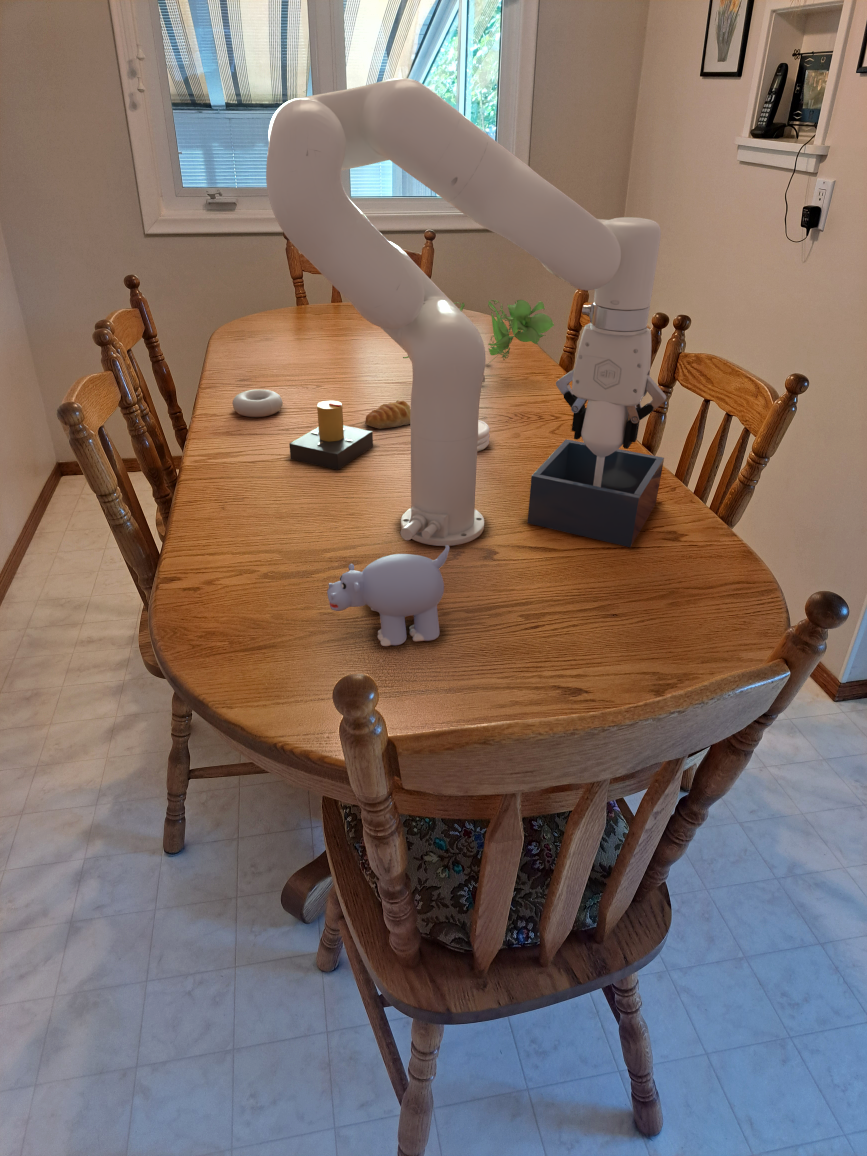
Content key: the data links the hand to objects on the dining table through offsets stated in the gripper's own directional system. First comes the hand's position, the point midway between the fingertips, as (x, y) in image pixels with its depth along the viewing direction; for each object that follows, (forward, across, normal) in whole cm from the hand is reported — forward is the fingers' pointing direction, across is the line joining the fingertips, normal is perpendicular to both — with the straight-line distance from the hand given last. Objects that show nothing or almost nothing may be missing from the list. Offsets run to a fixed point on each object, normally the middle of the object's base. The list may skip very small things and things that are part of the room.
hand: (603, 440), depth 115 cm
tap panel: (+12, -49, +1) cm, 51 cm away
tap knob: (+9, -49, +1) cm, 50 cm away
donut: (+12, -74, +12) cm, 76 cm away
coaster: (+12, -30, +16) cm, 36 cm away
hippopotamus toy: (+12, -14, -40) cm, 44 cm away
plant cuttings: (+12, -45, +51) cm, 69 cm away
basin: (+12, 0, 0) cm, 12 cm away
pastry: (+12, -47, +19) cm, 52 cm away
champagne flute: (+12, 0, 0) cm, 12 cm away
